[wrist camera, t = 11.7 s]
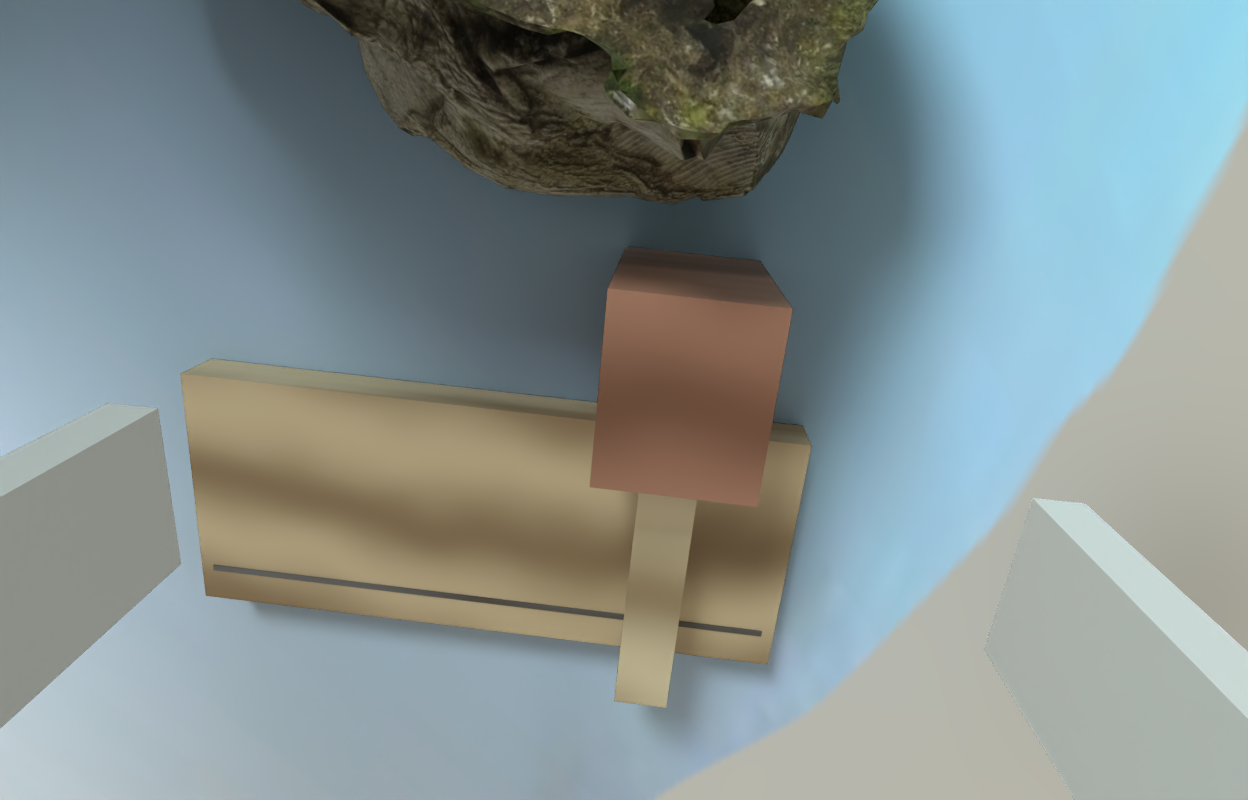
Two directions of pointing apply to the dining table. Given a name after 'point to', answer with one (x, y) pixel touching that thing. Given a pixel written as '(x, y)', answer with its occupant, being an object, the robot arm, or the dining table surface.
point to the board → (458, 510)
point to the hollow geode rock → (605, 86)
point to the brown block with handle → (681, 424)
